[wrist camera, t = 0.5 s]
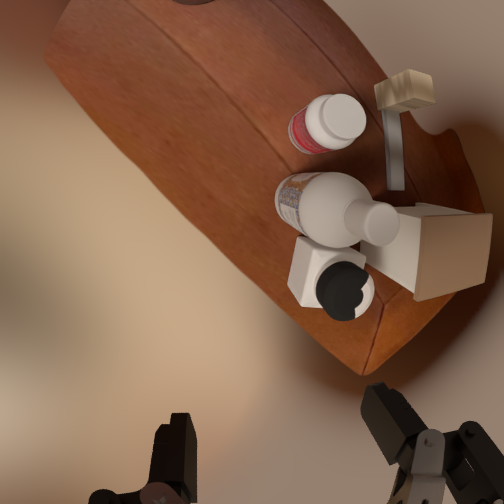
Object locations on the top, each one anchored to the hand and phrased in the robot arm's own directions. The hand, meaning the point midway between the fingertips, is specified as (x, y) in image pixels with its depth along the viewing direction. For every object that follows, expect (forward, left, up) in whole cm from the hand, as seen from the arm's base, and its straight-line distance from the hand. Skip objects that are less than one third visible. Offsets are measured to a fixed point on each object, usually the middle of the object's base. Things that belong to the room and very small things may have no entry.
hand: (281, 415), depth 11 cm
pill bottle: (-15, +11, -27) cm, 33 cm away
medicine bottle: (+3, +11, -27) cm, 30 cm away
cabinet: (-1, +24, -27) cm, 36 cm away
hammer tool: (-15, +24, -27) cm, 39 cm away
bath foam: (-6, +9, -27) cm, 29 cm away
